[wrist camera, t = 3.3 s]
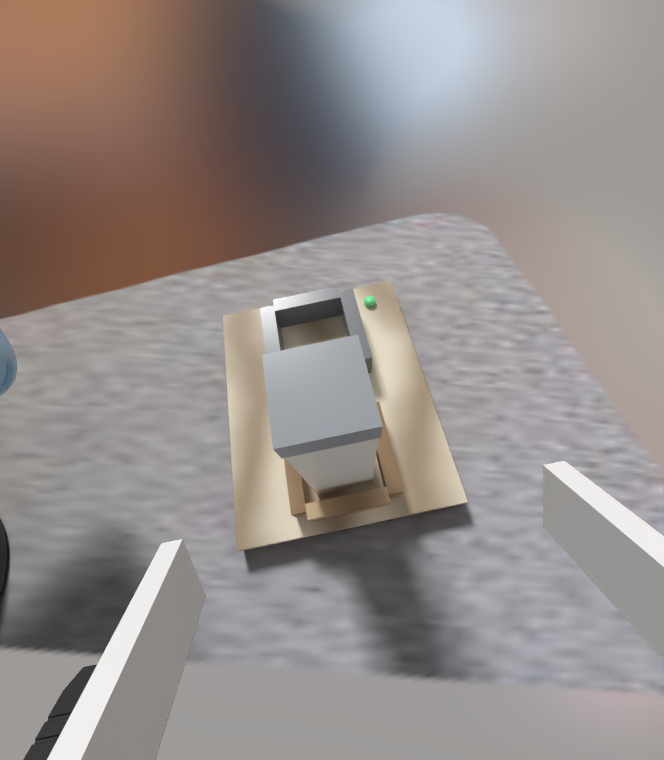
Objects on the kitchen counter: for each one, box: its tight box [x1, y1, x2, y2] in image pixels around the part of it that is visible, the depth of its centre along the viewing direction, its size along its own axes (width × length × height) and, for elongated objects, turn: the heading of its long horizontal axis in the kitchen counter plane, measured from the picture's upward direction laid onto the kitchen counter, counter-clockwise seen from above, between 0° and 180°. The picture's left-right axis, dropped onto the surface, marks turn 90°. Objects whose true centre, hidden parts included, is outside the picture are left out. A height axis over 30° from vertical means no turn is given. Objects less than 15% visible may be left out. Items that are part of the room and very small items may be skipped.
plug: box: [262, 335, 383, 495], centre depth 20 cm, size 4×4×13 cm
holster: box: [284, 401, 403, 522], centre depth 25 cm, size 7×7×2 cm
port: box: [260, 286, 375, 373], centre depth 29 cm, size 10×8×2 cm
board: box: [223, 281, 468, 551], centre depth 29 cm, size 16×20×1 cm
